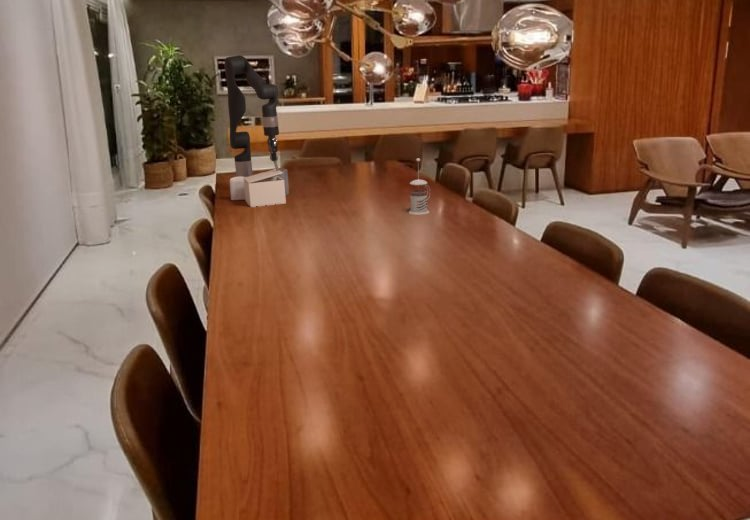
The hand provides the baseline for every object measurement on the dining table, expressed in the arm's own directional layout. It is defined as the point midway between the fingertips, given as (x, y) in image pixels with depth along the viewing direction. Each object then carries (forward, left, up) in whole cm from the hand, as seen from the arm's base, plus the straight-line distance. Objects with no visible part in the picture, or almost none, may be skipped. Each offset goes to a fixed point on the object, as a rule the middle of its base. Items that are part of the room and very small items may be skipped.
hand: (274, 160), depth 325 cm
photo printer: (-16, -16, -22) cm, 32 cm away
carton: (0, -6, -22) cm, 22 cm away
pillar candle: (-18, +6, -22) cm, 29 cm away
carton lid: (0, -6, -8) cm, 10 cm away
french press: (+60, +54, -22) cm, 83 cm away
